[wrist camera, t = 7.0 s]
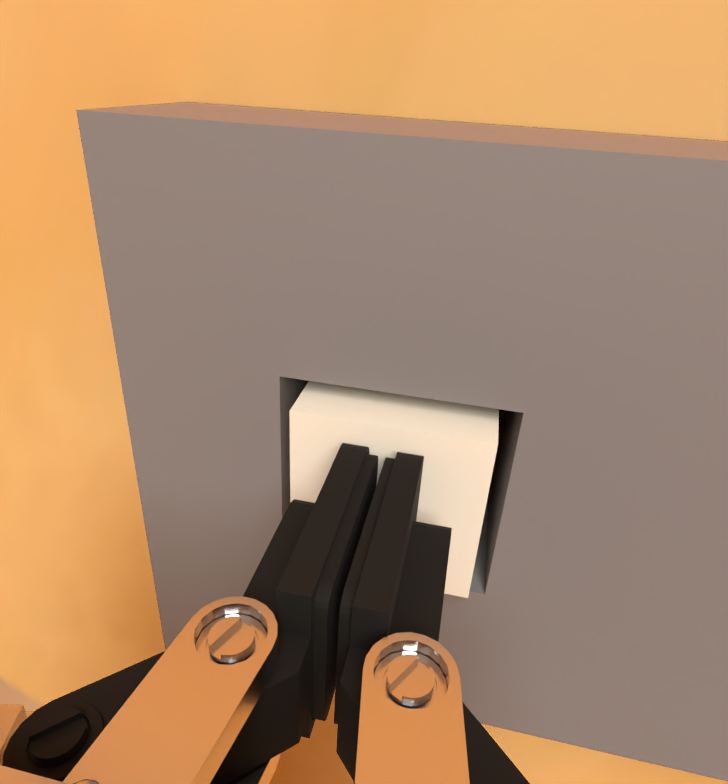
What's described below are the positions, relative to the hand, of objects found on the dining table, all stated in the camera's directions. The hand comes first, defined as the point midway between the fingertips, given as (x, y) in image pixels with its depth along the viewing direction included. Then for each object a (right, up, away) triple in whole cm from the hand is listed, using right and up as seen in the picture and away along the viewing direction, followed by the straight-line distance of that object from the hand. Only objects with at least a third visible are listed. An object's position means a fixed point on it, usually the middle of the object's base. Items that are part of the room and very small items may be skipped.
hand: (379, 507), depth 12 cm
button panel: (+7, +1, +3) cm, 8 cm away
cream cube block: (+1, +2, +4) cm, 4 cm away
